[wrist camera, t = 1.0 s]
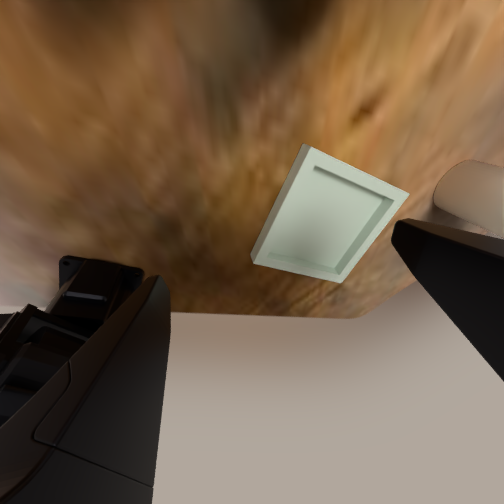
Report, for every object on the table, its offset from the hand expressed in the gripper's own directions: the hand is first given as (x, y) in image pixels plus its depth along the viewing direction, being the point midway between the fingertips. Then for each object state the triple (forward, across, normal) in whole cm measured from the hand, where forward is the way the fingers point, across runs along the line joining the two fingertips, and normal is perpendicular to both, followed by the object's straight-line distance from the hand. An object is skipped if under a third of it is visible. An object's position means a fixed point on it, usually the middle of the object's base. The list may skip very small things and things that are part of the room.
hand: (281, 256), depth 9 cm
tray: (+12, -7, +7) cm, 15 cm away
